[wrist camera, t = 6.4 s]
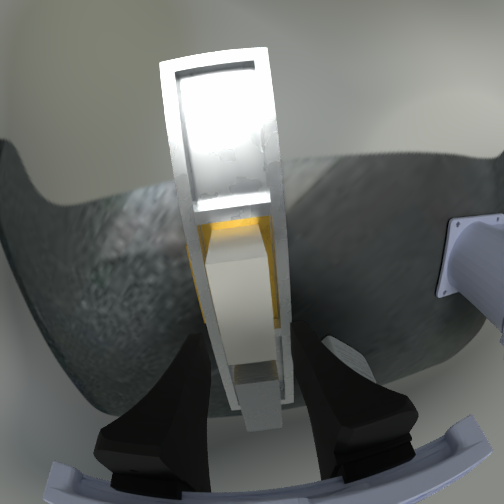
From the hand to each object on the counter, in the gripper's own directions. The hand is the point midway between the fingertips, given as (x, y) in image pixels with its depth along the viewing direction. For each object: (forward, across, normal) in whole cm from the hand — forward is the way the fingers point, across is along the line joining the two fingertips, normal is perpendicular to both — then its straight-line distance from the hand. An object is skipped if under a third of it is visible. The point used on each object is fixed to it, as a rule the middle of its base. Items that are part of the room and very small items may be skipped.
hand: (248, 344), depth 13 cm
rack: (+8, 0, 0) cm, 8 cm away
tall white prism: (+7, 0, 0) cm, 7 cm away
